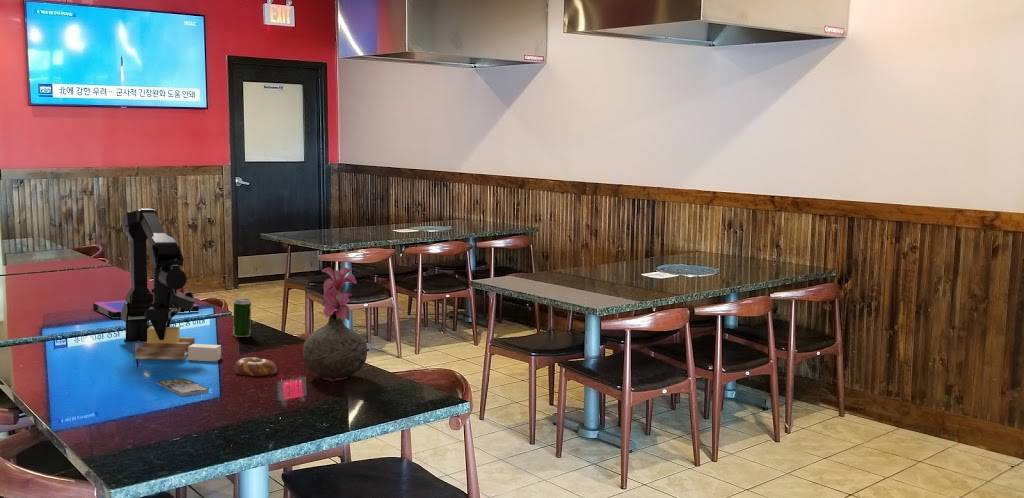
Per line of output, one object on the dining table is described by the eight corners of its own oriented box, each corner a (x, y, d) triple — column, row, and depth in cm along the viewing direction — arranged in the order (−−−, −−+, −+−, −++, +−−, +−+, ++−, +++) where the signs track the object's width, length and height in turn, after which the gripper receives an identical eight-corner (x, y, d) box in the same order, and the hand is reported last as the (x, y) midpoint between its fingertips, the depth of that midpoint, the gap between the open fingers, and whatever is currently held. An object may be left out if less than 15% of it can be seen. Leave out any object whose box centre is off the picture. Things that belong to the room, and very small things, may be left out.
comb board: (135, 358, 248) (135, 348, 248) (149, 346, 264) (149, 336, 263) (183, 359, 250) (183, 349, 250) (194, 347, 266) (194, 337, 265)
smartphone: (184, 377, 229) (210, 388, 219) (184, 382, 229) (210, 393, 219) (155, 381, 224) (181, 393, 213) (155, 386, 224) (181, 397, 214)
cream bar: (188, 360, 250) (188, 346, 250) (193, 357, 254) (193, 343, 254) (216, 362, 250) (216, 348, 250) (220, 358, 254) (221, 345, 253)
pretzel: (286, 371, 244) (286, 358, 244) (262, 380, 234) (262, 366, 233) (250, 365, 248) (250, 352, 248) (225, 373, 238) (225, 360, 237)
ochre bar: (147, 343, 250) (147, 329, 250) (150, 340, 254) (150, 326, 254) (176, 343, 252) (176, 329, 251) (179, 340, 256) (179, 327, 255)
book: (93, 302, 316) (176, 297, 336) (93, 310, 317) (176, 304, 337) (112, 312, 301) (198, 305, 321) (112, 320, 301) (198, 313, 321)
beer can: (235, 338, 281) (236, 301, 279) (231, 335, 285) (231, 298, 284) (252, 337, 284) (253, 300, 282) (247, 334, 288) (248, 298, 287)
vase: (311, 388, 227) (314, 272, 224) (295, 372, 242) (297, 264, 239) (373, 383, 235) (377, 271, 232) (354, 368, 250) (357, 263, 247)
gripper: (187, 290, 243) (186, 345, 245) (199, 280, 262) (198, 332, 263) (144, 289, 241) (144, 345, 243) (160, 279, 260) (159, 331, 261)
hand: (163, 338), depth 253 cm, fingers closed on ochre bar, 4 cm apart
